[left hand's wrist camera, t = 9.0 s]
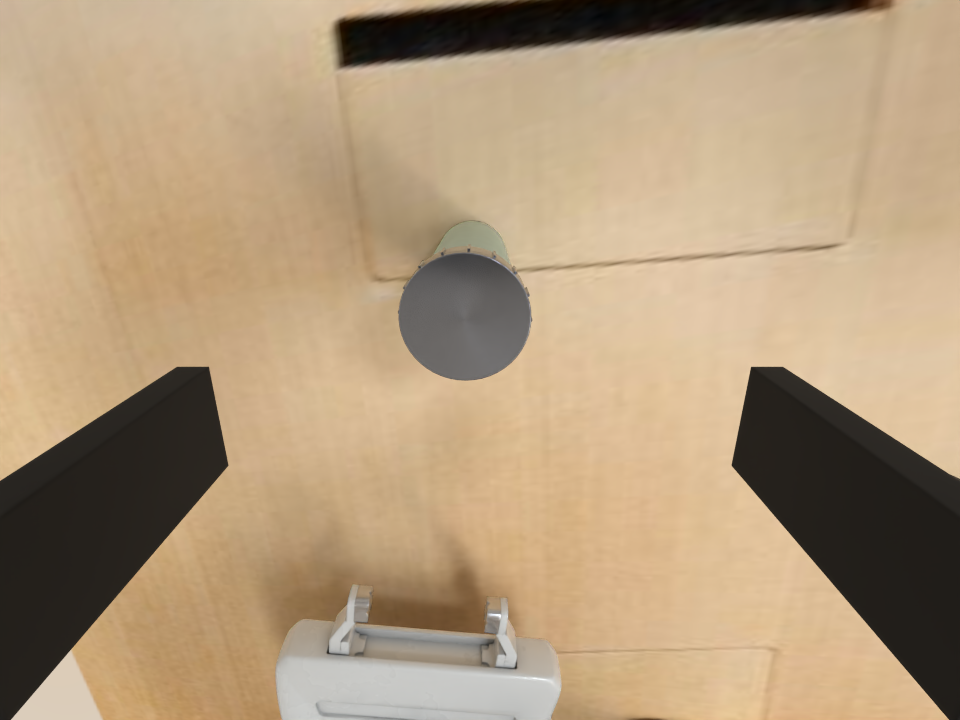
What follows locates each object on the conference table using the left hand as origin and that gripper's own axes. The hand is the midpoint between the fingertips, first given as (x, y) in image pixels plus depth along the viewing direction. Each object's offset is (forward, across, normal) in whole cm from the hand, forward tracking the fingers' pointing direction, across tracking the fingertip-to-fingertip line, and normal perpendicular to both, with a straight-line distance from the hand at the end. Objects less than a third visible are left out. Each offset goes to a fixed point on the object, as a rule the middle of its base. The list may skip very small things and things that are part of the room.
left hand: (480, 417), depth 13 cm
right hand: (+16, +4, +22) cm, 27 cm away
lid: (+8, +1, 0) cm, 8 cm away
